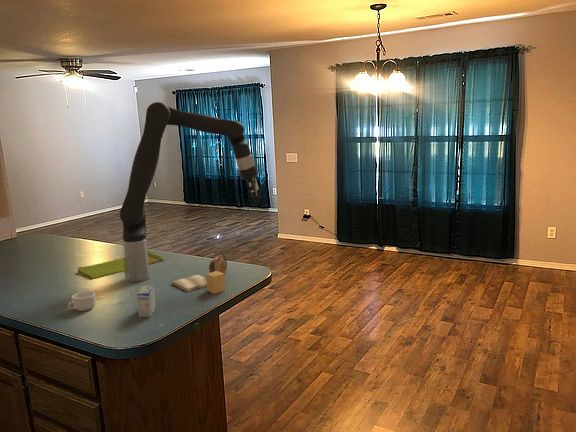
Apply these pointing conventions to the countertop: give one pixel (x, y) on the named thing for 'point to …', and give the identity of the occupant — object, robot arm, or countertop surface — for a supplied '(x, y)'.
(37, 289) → the countertop surface
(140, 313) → the medicine box
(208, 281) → the ochre block
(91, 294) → the teacup
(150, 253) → the dish towel
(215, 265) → the tin
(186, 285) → the birch board
